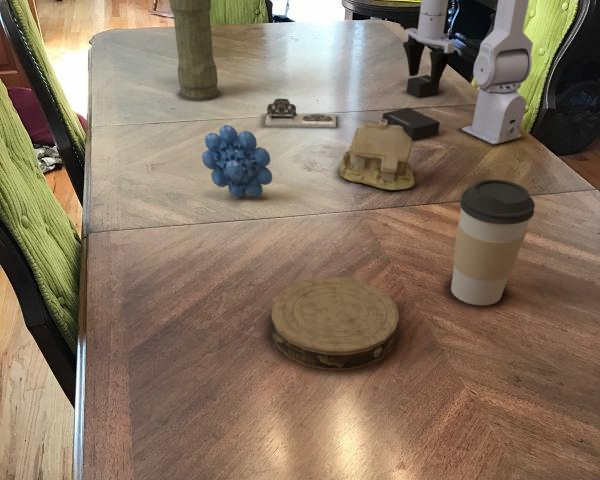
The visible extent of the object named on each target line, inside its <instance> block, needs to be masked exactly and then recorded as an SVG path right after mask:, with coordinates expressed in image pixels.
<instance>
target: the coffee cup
mask: <svg viewBox="0 0 600 480" xmlns="http://www.w3.org/2000/svg"><path fill="white" fill-rule="evenodd" d="M459 206H460V213H459V218H458V220H457V226H456V235H455V236H456V237H455V245H454V252H453V271H452V278H451V285H450V286H451V287H450V291H451V293H452V294H453V296H454V297H456V298H457V299H458V300H459V301H462V302H464V303H466V304H469V305H475V306H490V305H493V304H496V303H498V302H499V301H500V300H501V298H502V295H503V293H504V290H505V288H506V285H507V282H508V280H509V277H510V275H511V274H512V272H513V270H514V267H515V264H516V261H517V258H518V256H519V253H520V250H521V248H522V245H523V242H524V239H525V237H526V234H527V228H528V226H529V223H530V220H531V218H533V216H534V215H535V208H536V204H535V201H534V199H533V198H532V197H531V196H530V193H529V191H528V190H527V188H525V187H524V186H523V185H520V184H519V183H515V182H513V181H509V180H504V179H495V178H494V179H493V178H491V179H482V180H480V181H477V182H475V183H474V184H473V186H470V187H468V188H467V189H465V190H464V191H463V192H462V195H461V199H460V202H459Z"/></svg>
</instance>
